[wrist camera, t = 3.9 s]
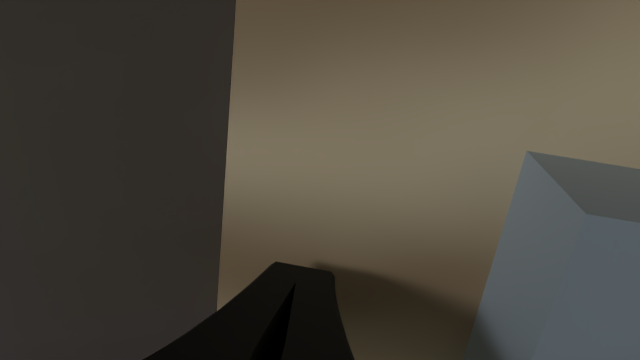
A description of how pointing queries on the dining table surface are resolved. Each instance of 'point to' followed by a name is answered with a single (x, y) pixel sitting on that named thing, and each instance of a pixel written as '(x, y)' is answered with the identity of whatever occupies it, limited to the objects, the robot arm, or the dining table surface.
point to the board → (411, 145)
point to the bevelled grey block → (564, 266)
